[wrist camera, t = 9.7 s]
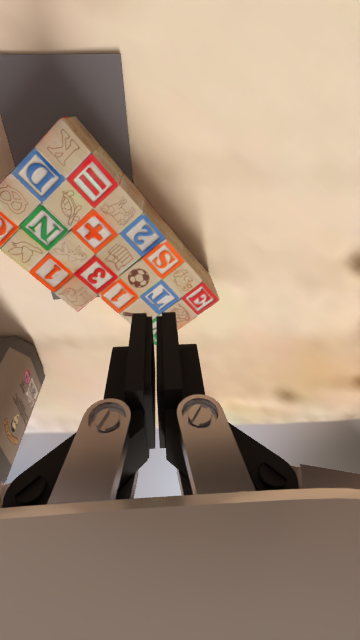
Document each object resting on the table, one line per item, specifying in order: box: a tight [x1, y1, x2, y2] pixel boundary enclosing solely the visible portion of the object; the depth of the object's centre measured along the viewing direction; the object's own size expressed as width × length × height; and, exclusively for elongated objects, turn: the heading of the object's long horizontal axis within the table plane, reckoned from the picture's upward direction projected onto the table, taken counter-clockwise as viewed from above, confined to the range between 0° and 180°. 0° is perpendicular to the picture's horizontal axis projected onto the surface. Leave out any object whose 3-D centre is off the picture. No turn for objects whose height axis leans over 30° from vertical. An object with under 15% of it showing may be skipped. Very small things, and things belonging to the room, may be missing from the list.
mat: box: [0, 54, 133, 299], centre depth 32 cm, size 11×23×1 cm, turn 1°
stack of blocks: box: [0, 116, 219, 346], centre depth 32 cm, size 21×6×12 cm
